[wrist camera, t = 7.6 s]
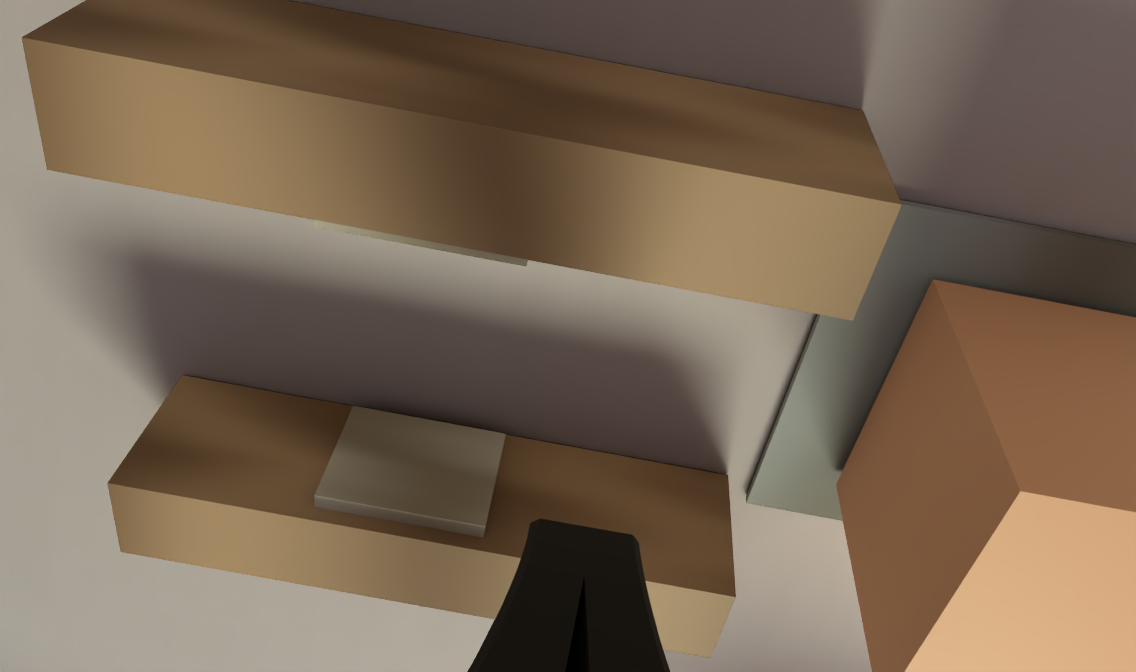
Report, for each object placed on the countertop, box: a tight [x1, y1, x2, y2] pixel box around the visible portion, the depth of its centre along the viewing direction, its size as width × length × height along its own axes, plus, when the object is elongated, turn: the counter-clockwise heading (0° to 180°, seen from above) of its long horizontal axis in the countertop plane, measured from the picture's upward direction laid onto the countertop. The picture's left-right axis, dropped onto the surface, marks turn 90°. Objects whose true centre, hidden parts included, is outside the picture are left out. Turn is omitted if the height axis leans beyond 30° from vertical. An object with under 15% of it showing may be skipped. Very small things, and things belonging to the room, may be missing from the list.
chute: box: [22, 0, 1136, 658], centre depth 16 cm, size 18×10×3 cm, turn 81°
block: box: [836, 279, 1136, 672], centre depth 15 cm, size 5×5×5 cm
